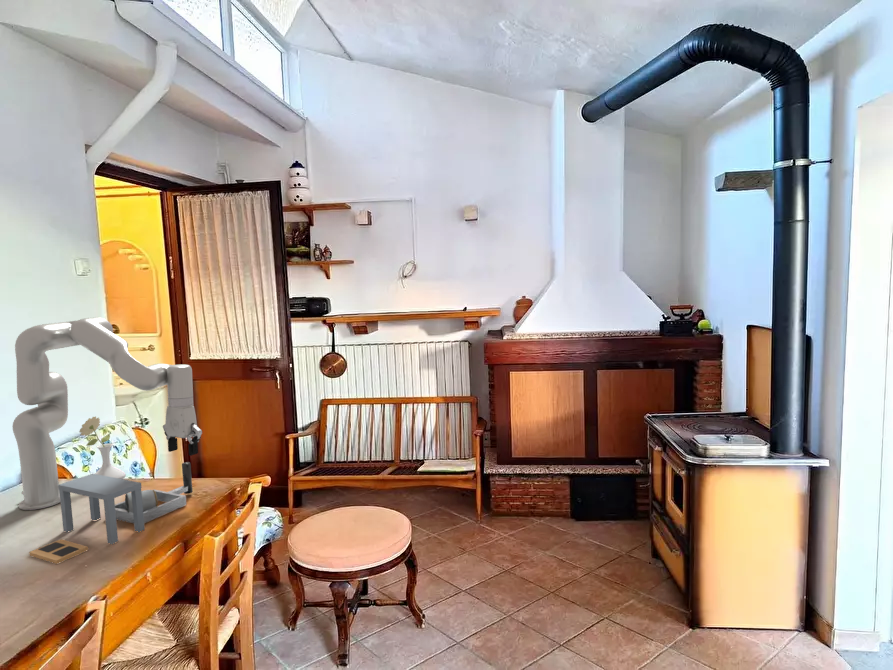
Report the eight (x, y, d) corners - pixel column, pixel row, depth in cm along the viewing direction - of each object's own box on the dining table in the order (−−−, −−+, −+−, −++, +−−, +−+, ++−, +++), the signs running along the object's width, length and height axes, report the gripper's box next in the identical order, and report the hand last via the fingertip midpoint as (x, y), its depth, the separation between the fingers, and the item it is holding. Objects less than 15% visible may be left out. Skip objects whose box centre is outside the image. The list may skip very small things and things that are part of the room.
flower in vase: (117, 475, 211) (111, 409, 208) (132, 480, 204) (126, 413, 202) (78, 486, 200) (72, 417, 198) (93, 492, 193) (86, 421, 191)
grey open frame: (107, 517, 170) (104, 483, 169) (176, 489, 192) (173, 459, 191) (140, 525, 164) (137, 490, 163) (207, 495, 186) (205, 464, 185)
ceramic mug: (159, 514, 172) (157, 490, 172) (129, 522, 167) (127, 497, 167) (152, 505, 180) (150, 482, 180) (123, 512, 175) (121, 488, 175)
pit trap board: (29, 555, 148) (29, 551, 148) (61, 542, 155) (60, 538, 155) (56, 564, 143) (56, 560, 143) (88, 550, 150) (87, 546, 150)
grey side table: (62, 531, 162) (58, 484, 161) (97, 518, 171) (92, 473, 170) (111, 544, 153) (107, 495, 151) (145, 529, 162) (141, 482, 160)
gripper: (152, 401, 185) (155, 452, 187) (189, 406, 178) (192, 459, 179) (172, 397, 192) (174, 446, 193) (208, 402, 184) (211, 452, 186)
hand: (183, 452), depth 186 cm, fingers open, 9 cm apart
